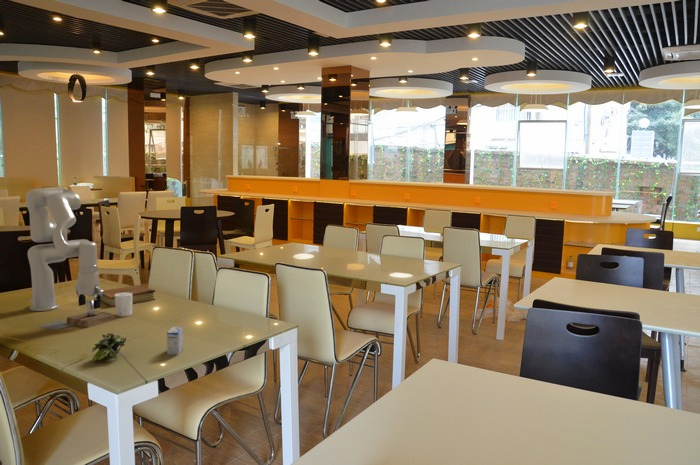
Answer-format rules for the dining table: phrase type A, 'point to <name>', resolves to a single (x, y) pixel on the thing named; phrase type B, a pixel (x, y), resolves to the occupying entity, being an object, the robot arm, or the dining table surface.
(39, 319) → the dining table surface
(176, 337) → the medicine box
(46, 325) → the mat
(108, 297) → the diary
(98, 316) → the hole block
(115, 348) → the green leafy plant
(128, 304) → the white cup
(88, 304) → the peg
